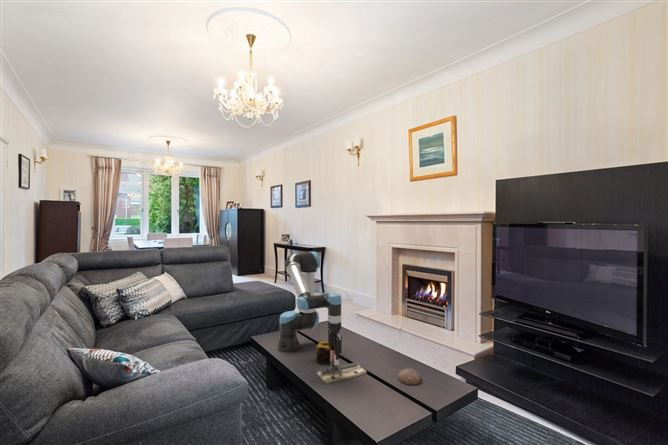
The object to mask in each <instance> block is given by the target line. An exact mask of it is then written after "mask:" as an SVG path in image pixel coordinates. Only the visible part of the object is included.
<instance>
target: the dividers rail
mask: <svg viewBox="0 0 668 445" xmlns="http://www.w3.org/2000/svg"><path fill="white" fill-rule="evenodd" d="M358 365H359V364H358V362H352V363H348V364H342V365H340V368H339V369H340V370H343V369H347V368H351V367H356V366H358ZM320 371H321V374H326V373H331V374H332V378H334V375H335V373H334V372H335V371H337V370H336V369H331V368H330V366H326V367H325V369H322V370H320Z"/></svg>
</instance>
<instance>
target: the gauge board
mask: <svg viewBox="0 0 668 445" xmlns="http://www.w3.org/2000/svg"><path fill="white" fill-rule="evenodd" d="M341 371H342V376H340V372H339V371H335V372H334V373H335V375H334V378H332V374H331V373H326V374H321V370H320V371H317V376H318V377H319V378H320V379H321V380H322V381H323V383H325V384H326V385H328V384H331V383H336V382H340V381H344V380H347V379H351V378H354V377H359V376H362V375H363V376H364V375H367V373H368V372H367V370H366V369H364V368H363V367H362V366H360V365H359V364H358V366H356V367H351V368H347V369H343V370H341Z"/></svg>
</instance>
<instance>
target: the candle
mask: <svg viewBox="0 0 668 445" xmlns="http://www.w3.org/2000/svg"><path fill="white" fill-rule="evenodd" d="M315 348H316V359H315V361H316V362H315V363H316V364H322V365H323V364H328V365H330V364H331V350H330V347H329V346H328V340H327V341H325V340H320V341H319V342H318V344H317V345H316V347H315Z"/></svg>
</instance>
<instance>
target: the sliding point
mask: <svg viewBox="0 0 668 445" xmlns="http://www.w3.org/2000/svg"><path fill="white" fill-rule="evenodd" d="M334 353H335V349H332V350H331V364H329V368H331V369H336V370H337V371H339V372H340V376H342V371H341V370H340V369H339V368H340V366H341V365H340V364H339V365H334Z"/></svg>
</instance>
